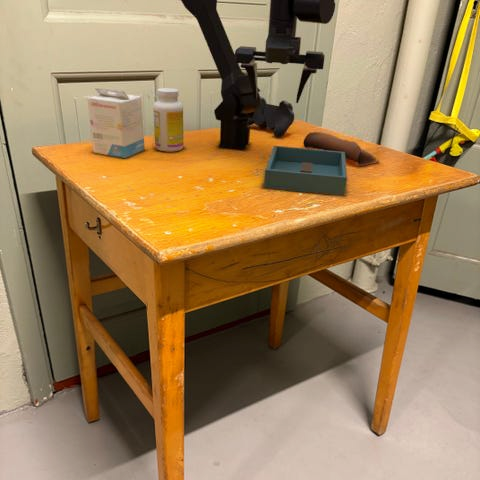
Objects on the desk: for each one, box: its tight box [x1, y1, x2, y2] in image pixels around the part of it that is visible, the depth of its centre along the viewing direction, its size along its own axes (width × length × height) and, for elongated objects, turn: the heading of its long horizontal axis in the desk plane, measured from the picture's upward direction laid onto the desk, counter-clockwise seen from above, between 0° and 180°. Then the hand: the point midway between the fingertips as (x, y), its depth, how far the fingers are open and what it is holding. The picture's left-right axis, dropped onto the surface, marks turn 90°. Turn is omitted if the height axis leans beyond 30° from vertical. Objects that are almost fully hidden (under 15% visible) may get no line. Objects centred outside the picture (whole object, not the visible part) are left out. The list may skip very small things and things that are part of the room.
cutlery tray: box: [263, 145, 348, 197], centre depth 108 cm, size 16×19×4 cm
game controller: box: [248, 96, 295, 139], centre depth 140 cm, size 16×7×10 cm, turn 52°
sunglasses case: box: [302, 131, 379, 167], centre depth 124 cm, size 18×7×7 cm
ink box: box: [87, 87, 146, 159], centre depth 114 cm, size 9×8×13 cm
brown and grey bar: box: [300, 162, 312, 173], centre depth 108 cm, size 12×2×2 cm, turn 172°
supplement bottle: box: [152, 87, 185, 153], centre depth 119 cm, size 7×7×13 cm
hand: (276, 101), depth 115 cm, fingers open, 9 cm apart
